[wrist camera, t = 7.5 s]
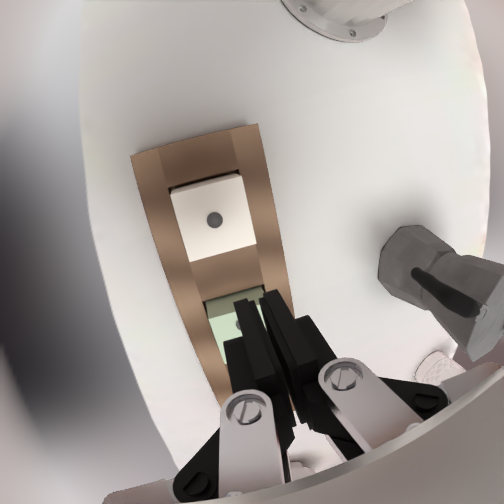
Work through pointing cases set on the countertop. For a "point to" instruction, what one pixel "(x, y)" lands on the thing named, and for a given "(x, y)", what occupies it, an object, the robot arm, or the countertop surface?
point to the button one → (213, 216)
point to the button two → (229, 315)
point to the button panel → (221, 265)
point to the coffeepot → (446, 287)
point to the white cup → (437, 369)
